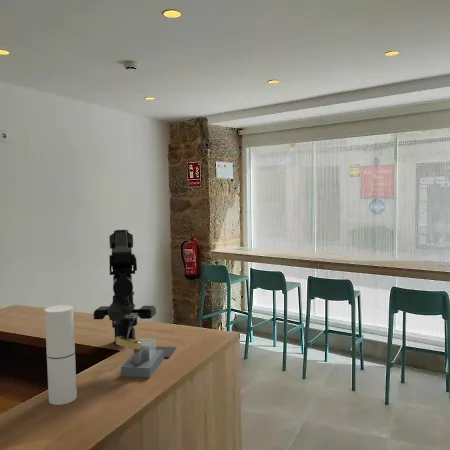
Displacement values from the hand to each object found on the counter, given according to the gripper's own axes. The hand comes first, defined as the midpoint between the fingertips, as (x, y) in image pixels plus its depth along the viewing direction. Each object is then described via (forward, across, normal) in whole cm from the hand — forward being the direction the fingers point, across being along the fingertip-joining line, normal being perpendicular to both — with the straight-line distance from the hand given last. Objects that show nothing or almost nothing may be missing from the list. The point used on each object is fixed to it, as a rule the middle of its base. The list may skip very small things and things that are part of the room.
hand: (126, 338), depth 140 cm
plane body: (+9, +5, +1) cm, 11 cm away
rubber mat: (+9, +5, +13) cm, 17 cm away
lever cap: (+6, +5, +3) cm, 9 cm away
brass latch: (+1, +2, -3) cm, 4 cm away
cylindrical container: (+9, -11, -22) cm, 26 cm away
